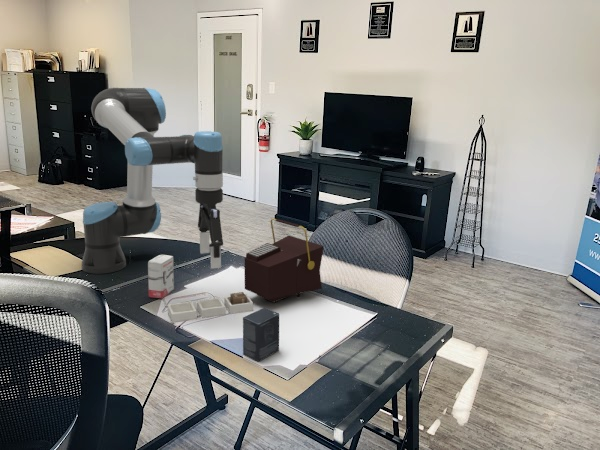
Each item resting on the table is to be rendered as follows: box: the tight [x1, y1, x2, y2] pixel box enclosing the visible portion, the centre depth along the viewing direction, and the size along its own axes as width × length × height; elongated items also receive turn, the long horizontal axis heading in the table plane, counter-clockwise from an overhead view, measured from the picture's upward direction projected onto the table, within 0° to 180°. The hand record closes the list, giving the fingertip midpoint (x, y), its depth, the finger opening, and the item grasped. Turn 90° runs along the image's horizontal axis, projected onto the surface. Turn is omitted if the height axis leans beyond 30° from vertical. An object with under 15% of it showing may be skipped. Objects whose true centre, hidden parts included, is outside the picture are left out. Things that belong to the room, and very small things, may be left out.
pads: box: [161, 297, 168, 308], centre depth 160 cm, size 7×24×1 cm, turn 113°
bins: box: [167, 293, 254, 325], centre depth 149 cm, size 7×24×3 cm, turn 113°
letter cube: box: [229, 291, 247, 305], centre depth 152 cm, size 4×4×4 cm
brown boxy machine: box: [244, 218, 325, 304], centre depth 159 cm, size 16×23×25 cm
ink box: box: [147, 254, 175, 299], centre depth 160 cm, size 9×5×12 cm, turn 168°
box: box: [242, 307, 280, 363], centre depth 126 cm, size 8×6×11 cm
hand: (210, 260), depth 145 cm, fingers open, 13 cm apart
